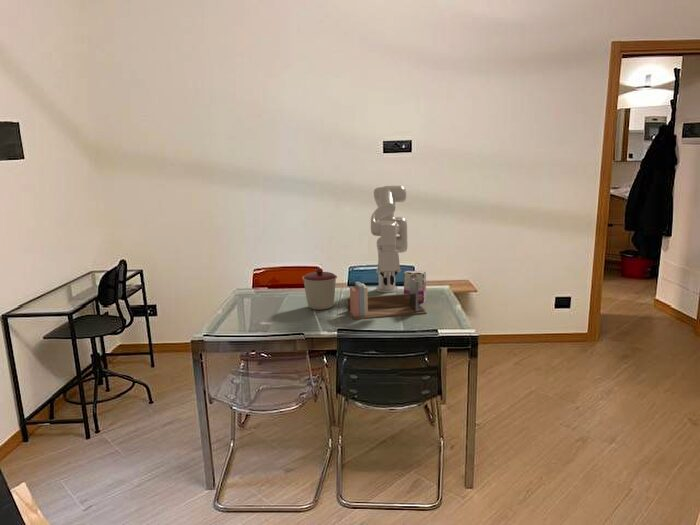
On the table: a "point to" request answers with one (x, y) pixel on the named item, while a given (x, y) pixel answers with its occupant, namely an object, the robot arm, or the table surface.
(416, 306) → the bookend
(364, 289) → the books
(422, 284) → the candy bar box
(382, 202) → the robot arm
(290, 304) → the table surface
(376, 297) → the shelf
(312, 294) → the canister
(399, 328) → the table surface
